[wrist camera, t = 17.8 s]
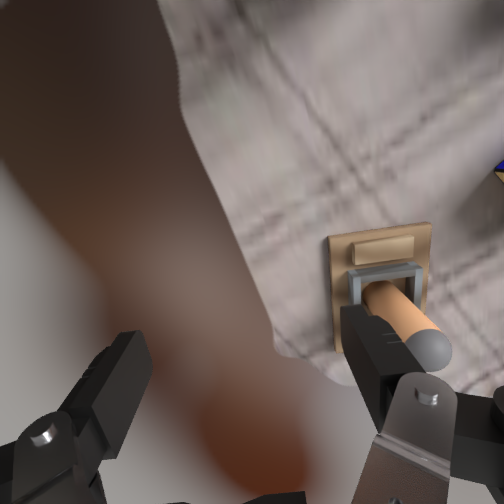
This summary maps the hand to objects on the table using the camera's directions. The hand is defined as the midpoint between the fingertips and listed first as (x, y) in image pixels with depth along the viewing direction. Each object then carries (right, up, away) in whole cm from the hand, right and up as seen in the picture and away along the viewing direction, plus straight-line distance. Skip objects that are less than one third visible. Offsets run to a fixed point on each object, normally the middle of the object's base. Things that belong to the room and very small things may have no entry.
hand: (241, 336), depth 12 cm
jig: (+20, -3, +33) cm, 38 cm away
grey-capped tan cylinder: (+20, -3, +32) cm, 37 cm away
